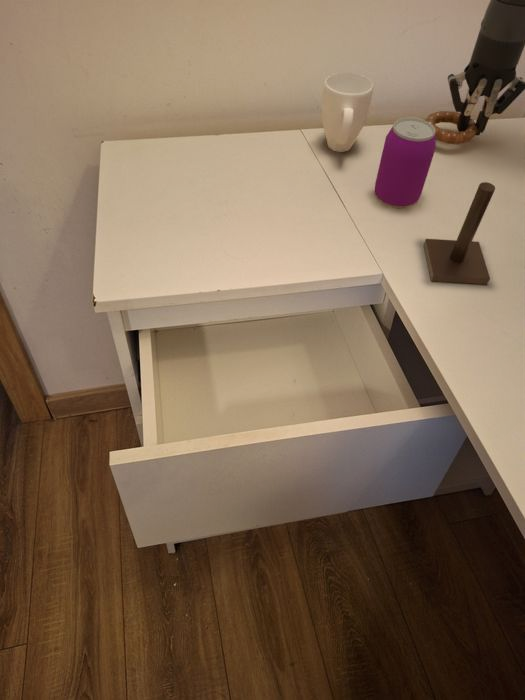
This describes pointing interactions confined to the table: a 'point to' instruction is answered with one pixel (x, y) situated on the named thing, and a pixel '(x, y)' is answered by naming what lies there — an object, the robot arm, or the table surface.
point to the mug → (345, 108)
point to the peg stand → (461, 247)
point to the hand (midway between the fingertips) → (468, 132)
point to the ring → (451, 136)
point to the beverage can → (405, 162)
